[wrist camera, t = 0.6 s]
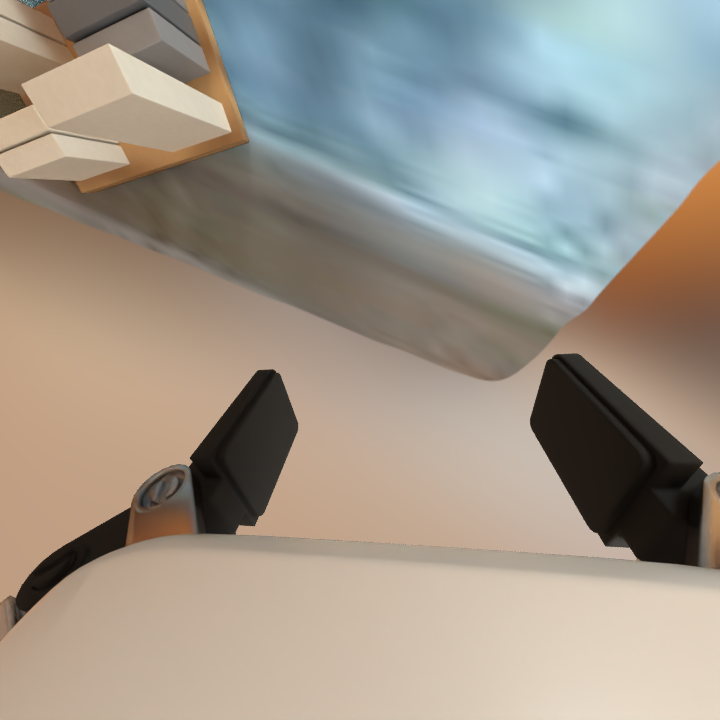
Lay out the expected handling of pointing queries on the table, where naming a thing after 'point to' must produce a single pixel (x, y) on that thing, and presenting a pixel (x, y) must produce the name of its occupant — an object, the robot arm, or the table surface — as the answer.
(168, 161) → the shelf board
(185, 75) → the grey books
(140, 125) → the white book
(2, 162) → the white books
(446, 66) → the table surface
